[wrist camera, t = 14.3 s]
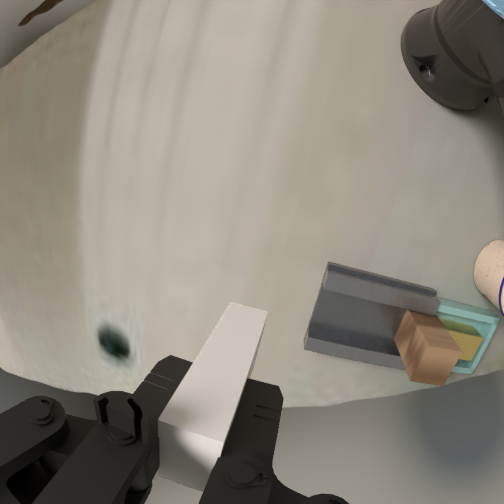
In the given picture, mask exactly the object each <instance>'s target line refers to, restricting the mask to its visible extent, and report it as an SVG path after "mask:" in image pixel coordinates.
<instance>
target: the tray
mask: <svg viewBox="0 0 504 504" xmlns="http://www.w3.org/2000/svg"><path fill="white" fill-rule="evenodd" d="M437 298H438V299H439V300H440V302H441V303H440V305H439V308H438V310H437V313H436V315H437V317H440V318H444V319H448V320H453V321H456V322H460V323H464V324H469V325H473V326H474V328H475V329H476V330H477V331H478V332H479V333H480V335H481V336H482V337H483V339H482V341H481V343H480V345H479V347H478V349H477V351H476V353H475V355H474V357H473V359H472V360H471V361H468V360H461V359H458V361H457V362H456V364H455V366H454V368H453V370H452V371H451V372H457V373H465V374H472V373H473V371H474V369H475V368H476V366H477V364H478V362H479V360H480V359H481V357H482V355H483V353H484V351H485V349H486V347H487V345H488V343H489V341H490V339H491V337H492V335H493V333H494V331H495V329H496V327H497V325H498V323H499V321H500V318H499V317H498V316H497V315H495V314H494V313H493V312H492V311H490V310H487V309H483V308H479V307H475V306H471V305H467V304H463V303H459V302H455V301H451V300H447V299H443V298H439V297H437Z"/></svg>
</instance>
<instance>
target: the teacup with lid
mask: <svg viewBox="0 0 504 504" xmlns="http://www.w3.org/2000/svg"><path fill="white" fill-rule="evenodd" d="M474 282H475V285H476V287H477V289H478V291H479V292H480V293H481V294H482V295H484V296H485V297H486V298H487V299H488V300H489V301H490V302H492V303H493V304H494V305H495V306H496V307H497V308H498V309H499V310H500V311H501V313H502V314H503V316H504V241H503V240H496V241H493V242H491V243H489V244H488V245H486V246H485V247H484V248H483V249H482V251H481V252H480V254H479V256H478V258H477V260H476V263H475V267H474Z"/></svg>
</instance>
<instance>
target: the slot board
mask: <svg viewBox="0 0 504 504" xmlns="http://www.w3.org/2000/svg"><path fill="white" fill-rule="evenodd" d="M435 293H436V291H435V290H434V289H432V288H428V287H425V286H421V285H417V284H413V283H409V282H405V281H402V280H398V279H394V278H390V277H386V276H382V275H378V274H375V273H371V272H367V271H363V270H359V269H355V268H351V267H347V266H343V265H339V264H335V263H332V262H328V263H327V267H326V270H325V274H324V277H323V280H322V284H321V287H320V290H319V294H318V297H317V300H316V303H315V307H314V310H313V313H312V316H311V319H310V322H309V325H308V328H307V331H306V334H305V337H304V349H305V350H309V351H313V352H318V353H322V354H326V355H331V356H336V357H340V358H345V359H350V360H355V361H360V362H365V363H370V364H376V365H381V366H387V367H393V368H398V369H405V370H406V368H405V366H404V363H403V360H402V358H401V355H400V353H399V350H398V348H397V345H396V343H395V341H394V337H395V335H396V333H397V330H398V328H399V326H400V324H401V321H402V319H403V316H404V314H405V312H406V309H409V310H413V311H417V312H422V313H426V314H430V315H436V313H437V310H438V308H439V305H440V303H441V302H440V300H439V299H438V298H437V297H436V296H435Z"/></svg>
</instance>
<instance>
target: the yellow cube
mask: <svg viewBox="0 0 504 504" xmlns="http://www.w3.org/2000/svg"><path fill="white" fill-rule="evenodd" d="M455 323H456V324H457V325H458V326H459V328H460V329H461V330H462V332H463V333H464V335H463V337H462V339H461V341H460V343H459V345H458V346H459V348H460V349H461V351H462V353H461V355H460V357H459V359H461V360H468V361H471V360H472V359H473V357H474V355H475V353H476V351H477V349H478V347H479V345H480V343H481V341H482V339H483V337H482V336H481V335H480V333H479V332H478V331H477V330H476V329H475V328H474V326H473V325H469V324H464V323H460V322H456V321H455Z"/></svg>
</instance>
